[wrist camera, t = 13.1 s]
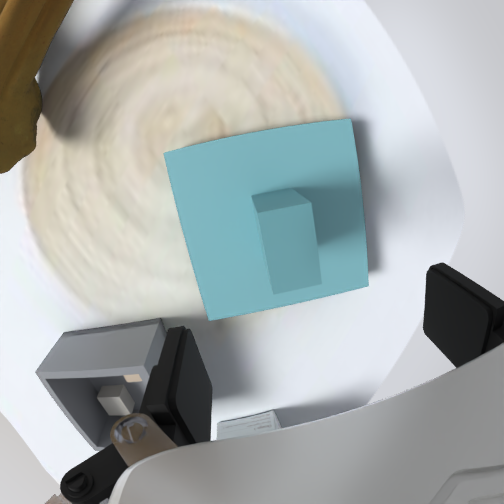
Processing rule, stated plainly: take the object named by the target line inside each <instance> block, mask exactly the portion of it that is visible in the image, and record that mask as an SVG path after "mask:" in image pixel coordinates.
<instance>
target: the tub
mask: <svg viewBox="0 0 504 504" xmlns="http://www.w3.org/2000/svg"><path fill="white" fill-rule="evenodd" d="M166 335H167V333H166V330H165V328H164V325H163V323H162V320H161V318H158V319H152V320H146V321H140V322H133V323H127V324H121V325H114V326H107V327H101V328H94V329H87V330H79V331H72V332H64V333H63V334H62V336H61V337H60V338H59V340H58V341H57V342H56V344H55V345H54V346H53V348H52V349H51V351H50V352H49V353H48V355H47V356H46V358H45V359H44V360H43V362H42V363H41V365H40V366H39V367H38V369H37V370H36V374H37V376H38V377H39V379H40V380H41V382H42V383H43V385H44V386H45V388H46V389H47V391H48V392H49V394H50V395H51V396H52V398H53V399H54V401H55V402H56V403H57V405H58V406H59V407H60V409H61V410H62V411H63V413H64V414H65V415H66V417H67V418H68V419H69V420H70V422H71V423H72V424H73V425H74V427H75V428H76V429H77V430H78V432H79V433H80V434H81V435H82V436H83V438H84V439H85V440H86V441H87V442H88V443H89V444H90V446H91V447H92V448H93V449H94V450H95V451H101V450H103V449H104V448H106V447H107V446H109V445H110V444H112V441H111V438H110V431H111V428H112V426H113V425H114V424H115V422H116V421H118V420H119V419H120V418H122V417H124V416H126V415H128V414H133V413H139V410H140V407H141V403H142V400H143V396H144V393H145V390H146V386H147V383H148V380H149V376H150V373H151V370H152V368H153V366H154V365H158V361H159V358H160V355H161V351H162V348H163V345H164V341H165V338H166Z"/></svg>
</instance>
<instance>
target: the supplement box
mask: <svg viewBox="0 0 504 504" xmlns="http://www.w3.org/2000/svg"><path fill="white" fill-rule="evenodd" d="M281 428H282V427H281V425H280V423H279V420H278V418H277V416H276V414H275V412H274V411H273V410H272V411H270V412H266V413H263V414H259V415H255V416H251V417H246V418H241V419H236V420H231V421H225V422H219V423H217V440H221V439H227V438H233V437H238V436H244V435H250V434H255V433H261V432H266V431H271V430H276V429H281Z"/></svg>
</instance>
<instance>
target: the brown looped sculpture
mask: <svg viewBox="0 0 504 504" xmlns="http://www.w3.org/2000/svg"><path fill="white" fill-rule="evenodd" d="M73 1H74V0H0V174H2V173H5V172H8V171H9V170H10V169H11V168H12V167H13V166H14V165H15V164H16V163H17V162H18V161H20V160H21V159H22V158H24V157H26V156H27V155H29V154H30V153H31V152H32V151H33V150H34V149H35V148H36V135H37V125H36V124H37V121H38V119H39V117H40V113H41V107H42V96H41V92H40V89H39V86H38V83H37V81H36V79H35V76H36V74H37V72H38V70H39V68H40V66H41V64H42V61H43V59H44V57H45V55H46V52H47V50H48V48H49V45H50V43H51V41H52V39H53V37H54V35H55V33H56V32H57V30H58V28H59V27H60V25H61V23H62V21H63V19H64V17H65V15H66V14H67V12H68V10H69V8H70V6H71V5H72V3H73Z"/></svg>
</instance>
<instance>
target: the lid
mask: <svg viewBox="0 0 504 504" xmlns="http://www.w3.org/2000/svg"><path fill="white" fill-rule="evenodd" d="M164 157H165V162H166V166H167V170H168V174H169V179H170V183H171V187H172V191H173V195H174V199H175V203H176V207H177V211H178V215H179V219H180V223H181V226H182V230H183V234H184V238H185V241H186V245H187V248H188V252H189V256H190V259H191V263H192V266H193V270H194V273H195V277H196V280H197V283H198V287H199V290H200V294H201V297H202V300H203V303H204V307H205V310H206V313H207V316H208V319H209V321H212V320H217V319H223V318H228V317H233V316H239V315H244V314H249V313H254V312H259V311H264V310H268V309H273V308H278V307H283V306H287V305H292V304H296V303H301V302H305V301H310V300H314V299H318V298H323V297H327V296H331V295H335V294H339V293H343V292H347V291H351V290H355V289H359V288H363V287H367V286H369V284H368V261H367V244H366V231H365V219H364V208H363V199H362V190H361V182H360V174H359V166H358V159H357V152H356V146H355V140H354V134H353V128H352V122H351V119H341V120H332V121H324V122H316V123H308V124H301V125H294V126H287V127H281V128H275V129H269V130H263V131H258V132H252V133H247V134H242V135H237V136H232V137H227V138H223V139H218V140H214V141H209V142H205V143H201V144H197V145H192V146H188V147H184V148H181V149H177V150H173V151H169V152H165V153H164Z"/></svg>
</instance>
